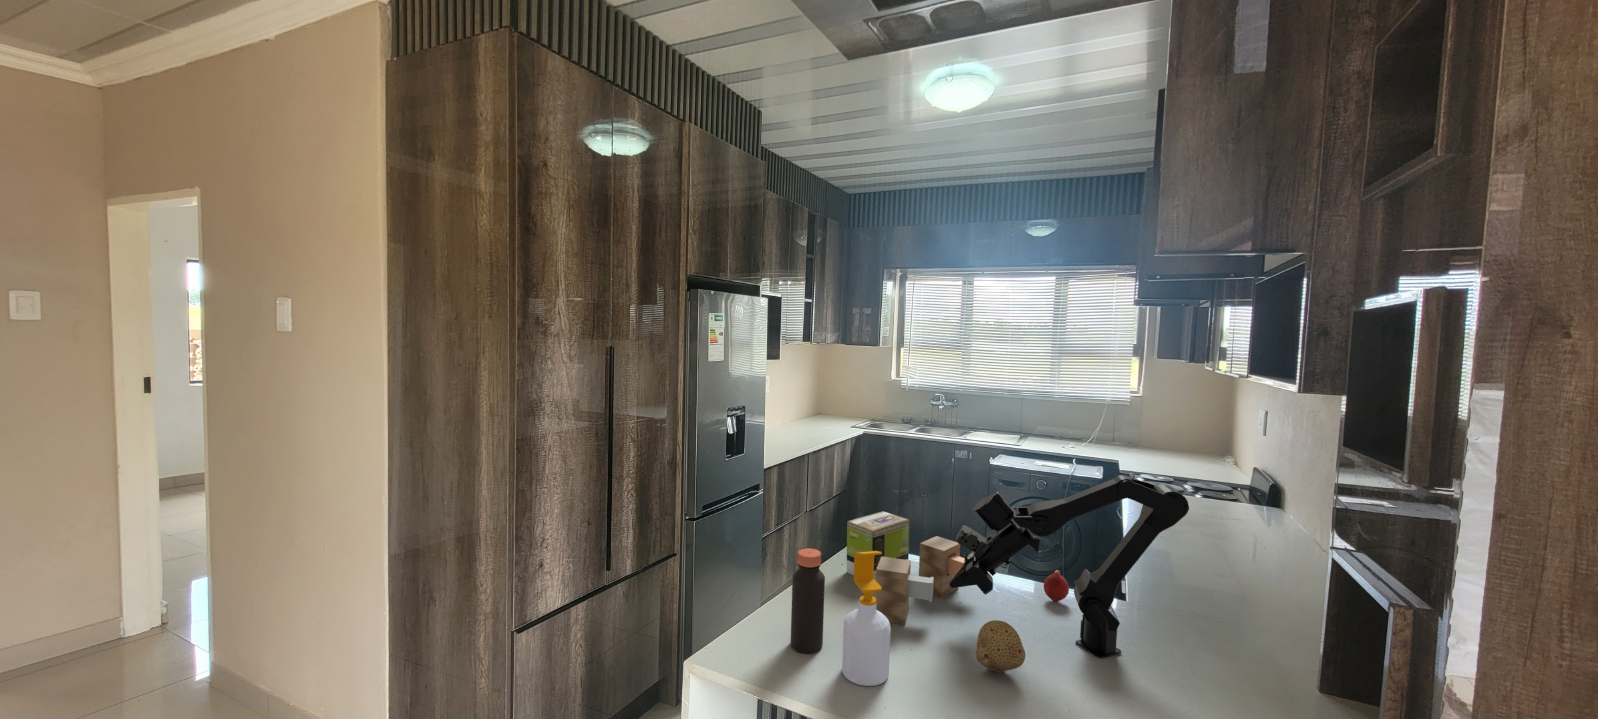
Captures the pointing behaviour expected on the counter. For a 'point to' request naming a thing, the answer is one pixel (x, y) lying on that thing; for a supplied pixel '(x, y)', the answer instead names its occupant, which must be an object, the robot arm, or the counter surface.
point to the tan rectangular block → (954, 564)
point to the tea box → (877, 537)
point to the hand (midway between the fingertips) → (950, 585)
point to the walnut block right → (938, 563)
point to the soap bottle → (866, 630)
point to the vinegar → (807, 603)
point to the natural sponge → (999, 647)
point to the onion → (1056, 587)
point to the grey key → (920, 587)
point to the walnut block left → (893, 589)
